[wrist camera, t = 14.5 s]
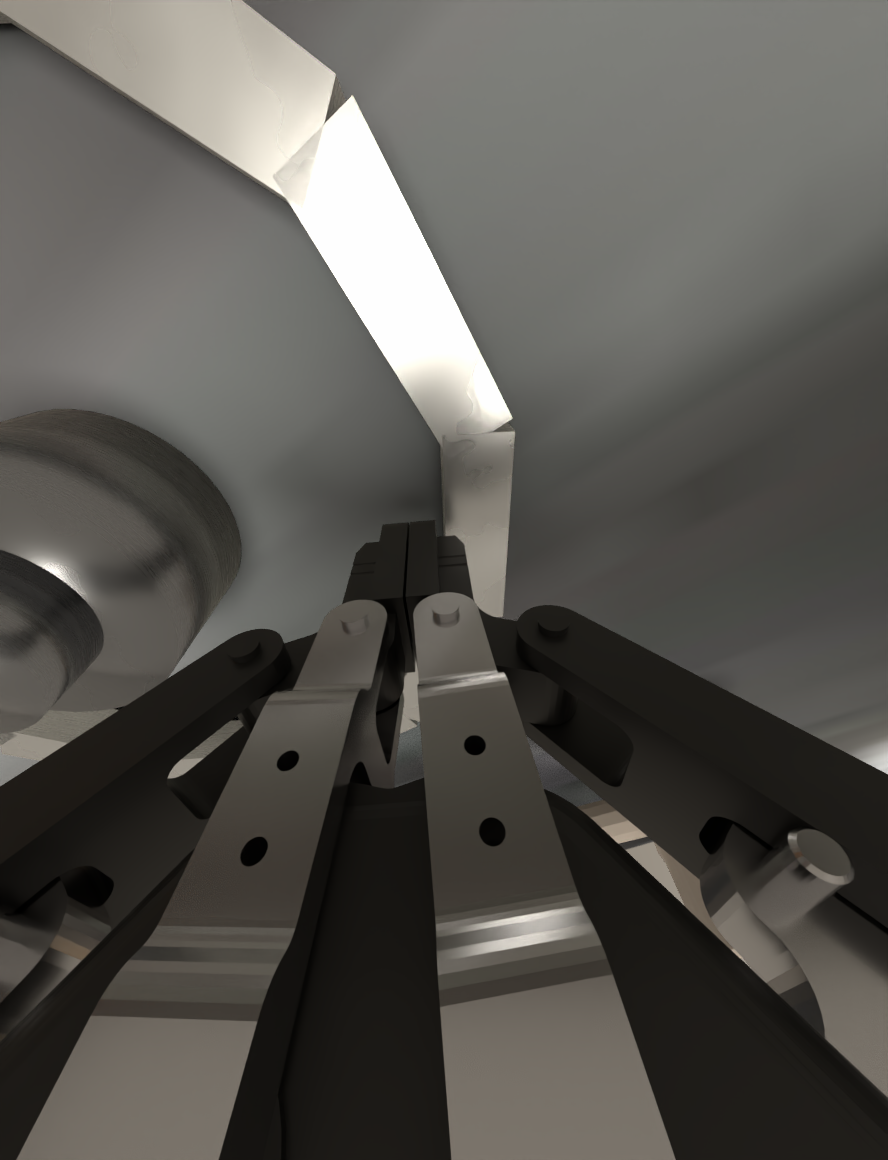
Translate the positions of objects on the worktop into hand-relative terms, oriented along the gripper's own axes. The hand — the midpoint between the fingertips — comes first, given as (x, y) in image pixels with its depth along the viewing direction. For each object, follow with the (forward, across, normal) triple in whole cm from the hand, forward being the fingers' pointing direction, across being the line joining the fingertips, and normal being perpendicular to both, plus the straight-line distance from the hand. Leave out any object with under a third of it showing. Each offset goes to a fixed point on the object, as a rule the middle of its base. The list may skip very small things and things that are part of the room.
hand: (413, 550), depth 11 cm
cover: (+3, +11, 0) cm, 11 cm away
